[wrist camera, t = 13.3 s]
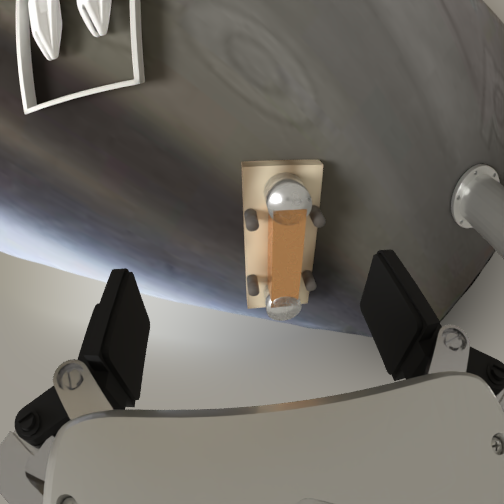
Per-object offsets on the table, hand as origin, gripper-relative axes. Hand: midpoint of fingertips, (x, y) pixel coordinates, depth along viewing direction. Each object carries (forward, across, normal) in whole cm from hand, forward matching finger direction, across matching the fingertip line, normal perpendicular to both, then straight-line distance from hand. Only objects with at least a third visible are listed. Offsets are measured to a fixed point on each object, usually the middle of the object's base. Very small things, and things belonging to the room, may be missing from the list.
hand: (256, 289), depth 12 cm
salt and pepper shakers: (+29, +19, -18) cm, 39 cm away
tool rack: (+28, -6, +17) cm, 34 cm away
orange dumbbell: (+26, -6, +17) cm, 32 cm away
